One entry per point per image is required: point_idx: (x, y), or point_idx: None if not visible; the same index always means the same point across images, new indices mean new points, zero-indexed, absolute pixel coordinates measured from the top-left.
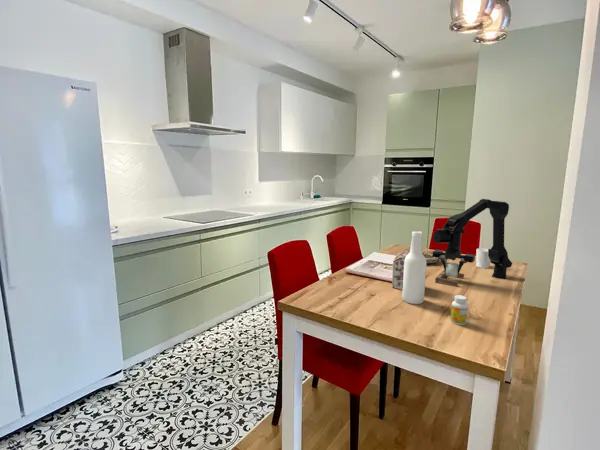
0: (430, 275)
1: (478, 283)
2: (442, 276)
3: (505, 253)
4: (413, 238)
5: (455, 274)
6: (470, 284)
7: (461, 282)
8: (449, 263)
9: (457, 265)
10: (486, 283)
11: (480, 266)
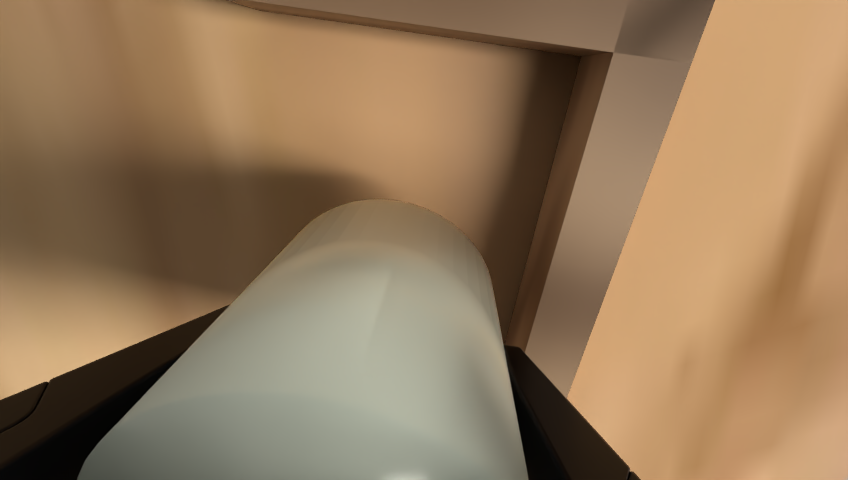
0: (698, 355)
1: (67, 293)
2: (538, 276)
3: None
4: None
5: (285, 250)
6: (126, 202)
7: (253, 235)
8: None
9: (88, 466)
10: (2, 333)
11: None
